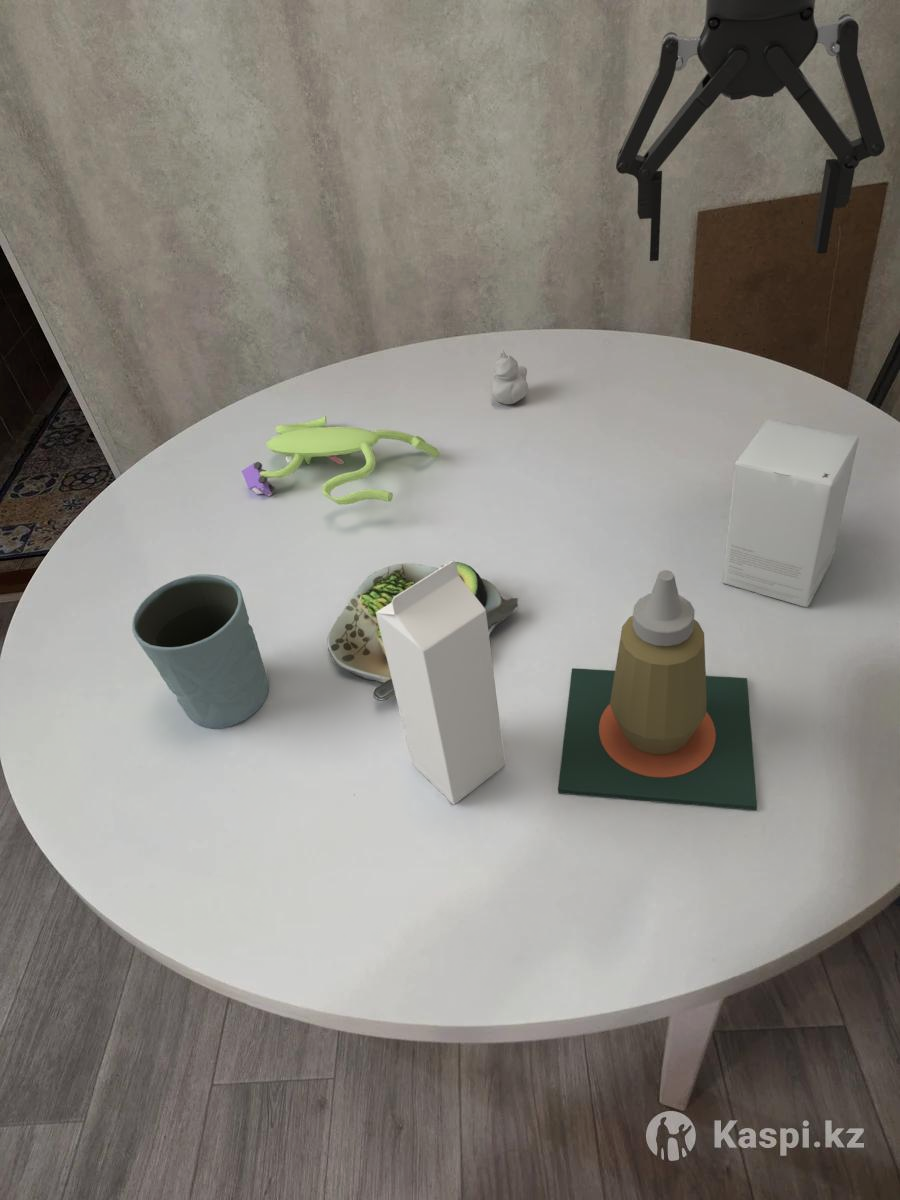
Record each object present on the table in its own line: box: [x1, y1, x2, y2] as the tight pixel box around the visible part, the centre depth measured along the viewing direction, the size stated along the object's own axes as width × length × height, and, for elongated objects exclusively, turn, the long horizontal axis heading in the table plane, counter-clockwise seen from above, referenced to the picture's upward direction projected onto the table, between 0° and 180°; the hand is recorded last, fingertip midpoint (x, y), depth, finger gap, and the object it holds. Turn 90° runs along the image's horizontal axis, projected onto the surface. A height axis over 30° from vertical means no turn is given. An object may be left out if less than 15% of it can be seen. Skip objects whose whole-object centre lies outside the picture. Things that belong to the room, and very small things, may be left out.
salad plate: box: [326, 561, 518, 702], centre depth 88 cm, size 19×18×5 cm
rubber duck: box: [490, 349, 529, 405], centre depth 121 cm, size 5×7×8 cm
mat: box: [557, 667, 758, 811], centre depth 76 cm, size 16×14×1 cm
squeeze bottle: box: [610, 569, 707, 755], centre depth 70 cm, size 8×8×18 cm
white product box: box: [722, 418, 860, 608], centre depth 85 cm, size 9×9×15 cm
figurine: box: [241, 414, 440, 506], centre depth 112 cm, size 18×27×6 cm
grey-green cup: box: [131, 573, 270, 730], centre depth 82 cm, size 10×10×12 cm
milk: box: [376, 560, 506, 805], centre depth 69 cm, size 6×6×22 cm
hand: (735, 251), depth 74 cm, fingers open, 13 cm apart
